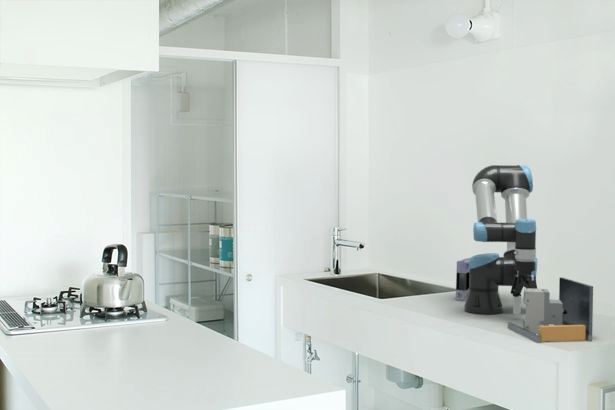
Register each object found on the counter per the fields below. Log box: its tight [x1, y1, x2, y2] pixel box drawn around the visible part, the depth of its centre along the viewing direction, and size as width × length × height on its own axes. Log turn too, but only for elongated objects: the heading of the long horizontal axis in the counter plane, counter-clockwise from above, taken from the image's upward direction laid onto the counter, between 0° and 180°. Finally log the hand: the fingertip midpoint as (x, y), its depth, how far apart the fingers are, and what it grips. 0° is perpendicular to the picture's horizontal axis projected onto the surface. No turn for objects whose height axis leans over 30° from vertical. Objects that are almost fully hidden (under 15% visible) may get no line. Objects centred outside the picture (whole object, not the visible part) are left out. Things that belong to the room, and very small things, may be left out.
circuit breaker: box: [522, 287, 567, 334], centre depth 272 cm, size 8×14×15 cm, turn 78°
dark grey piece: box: [507, 277, 594, 344], centre depth 270 cm, size 25×21×18 cm
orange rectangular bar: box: [539, 325, 586, 343], centre depth 259 cm, size 2×16×5 cm, turn 98°
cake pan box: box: [455, 257, 471, 302], centre depth 346 cm, size 19×5×18 cm, turn 147°
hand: (524, 316), depth 289 cm, fingers open, 13 cm apart
